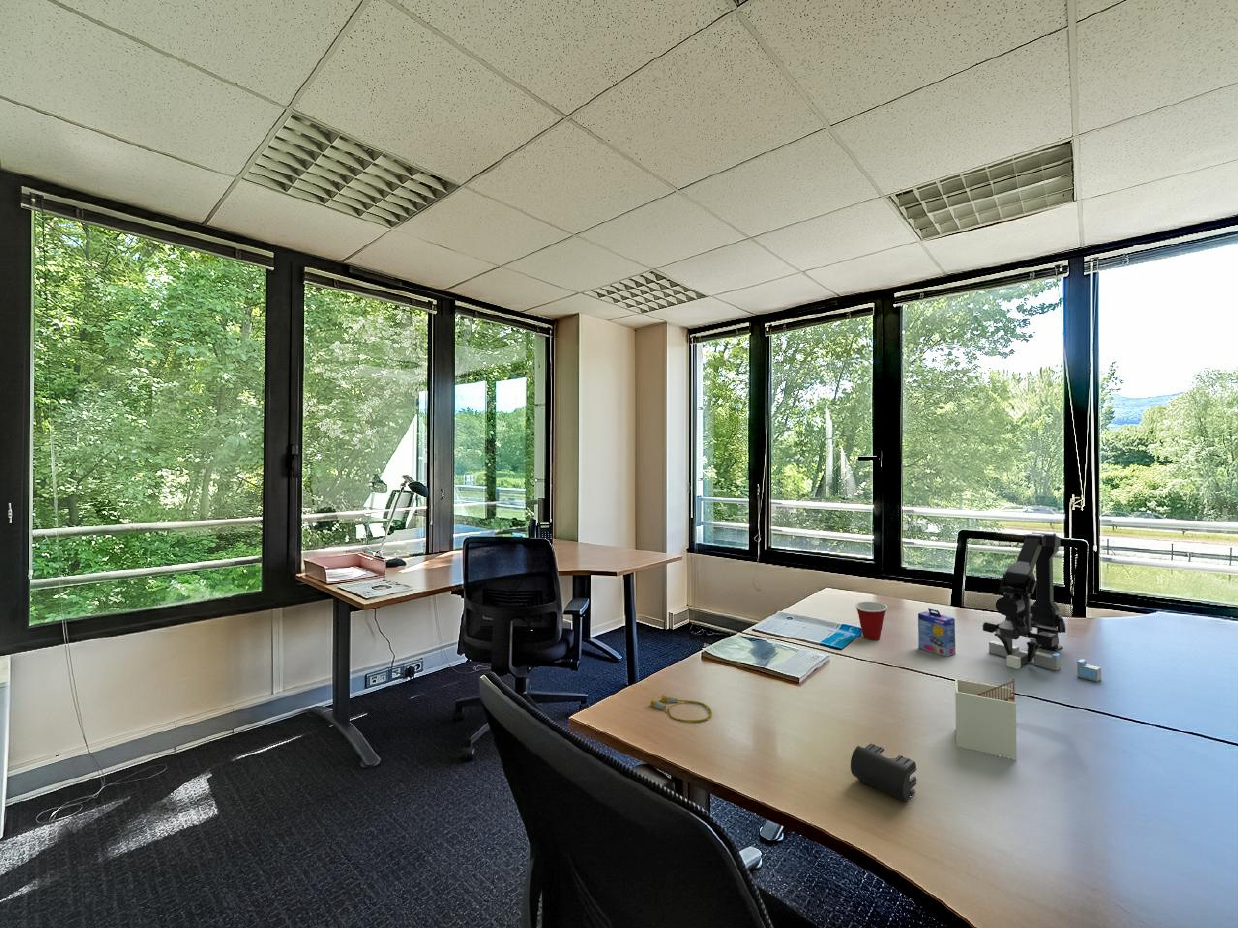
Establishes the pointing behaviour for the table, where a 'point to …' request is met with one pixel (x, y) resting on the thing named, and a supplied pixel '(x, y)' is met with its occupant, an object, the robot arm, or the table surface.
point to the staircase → (986, 717)
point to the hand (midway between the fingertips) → (1019, 659)
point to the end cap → (884, 771)
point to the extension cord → (673, 700)
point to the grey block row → (1050, 661)
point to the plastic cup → (871, 618)
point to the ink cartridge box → (936, 632)
